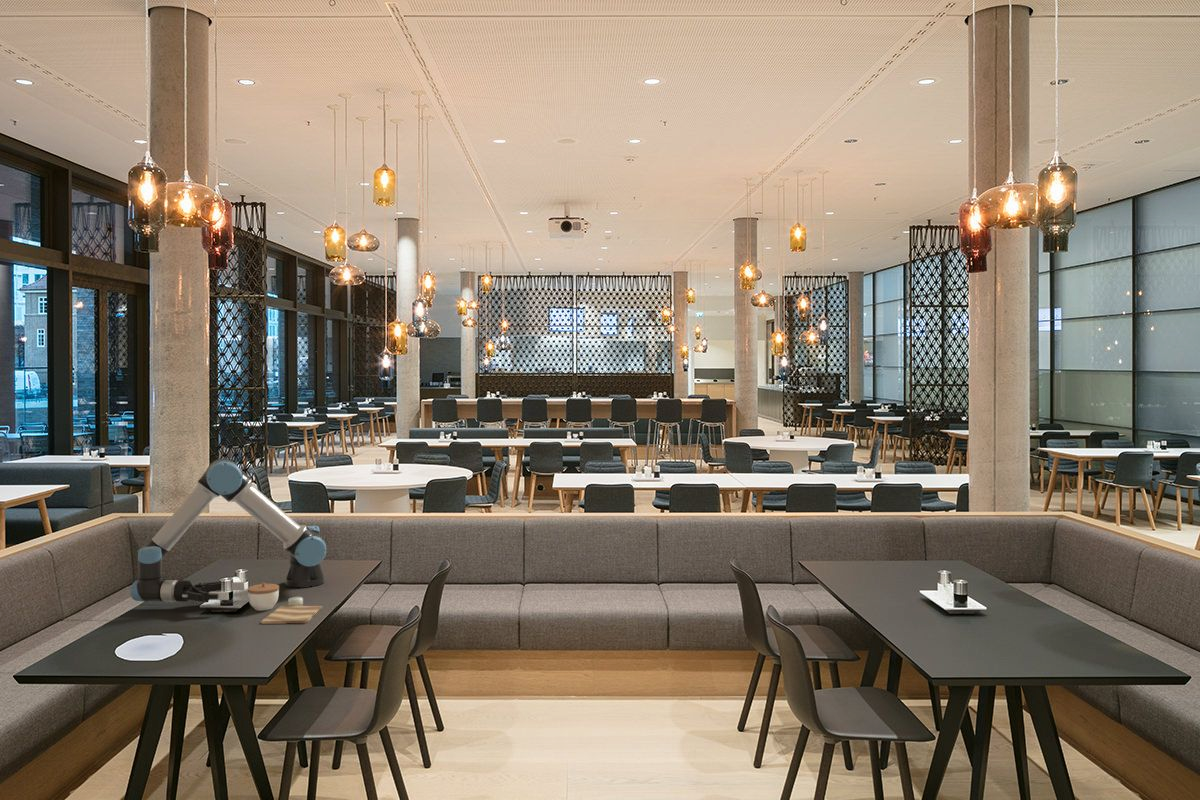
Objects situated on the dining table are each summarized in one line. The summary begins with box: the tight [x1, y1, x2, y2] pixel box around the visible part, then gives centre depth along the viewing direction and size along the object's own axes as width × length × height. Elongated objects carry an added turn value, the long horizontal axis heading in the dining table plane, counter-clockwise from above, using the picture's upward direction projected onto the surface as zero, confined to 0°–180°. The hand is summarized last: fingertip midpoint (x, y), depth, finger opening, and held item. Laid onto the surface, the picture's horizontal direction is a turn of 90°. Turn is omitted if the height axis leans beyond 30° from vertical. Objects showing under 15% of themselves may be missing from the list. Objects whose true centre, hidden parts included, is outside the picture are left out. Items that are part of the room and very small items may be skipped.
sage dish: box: [287, 596, 304, 606], centre depth 317 cm, size 5×5×3 cm
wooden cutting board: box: [261, 605, 323, 625], centre depth 305 cm, size 18×15×1 cm
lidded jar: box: [246, 582, 280, 612], centre depth 315 cm, size 11×11×9 cm
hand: (236, 590), depth 315 cm, fingers open, 13 cm apart
